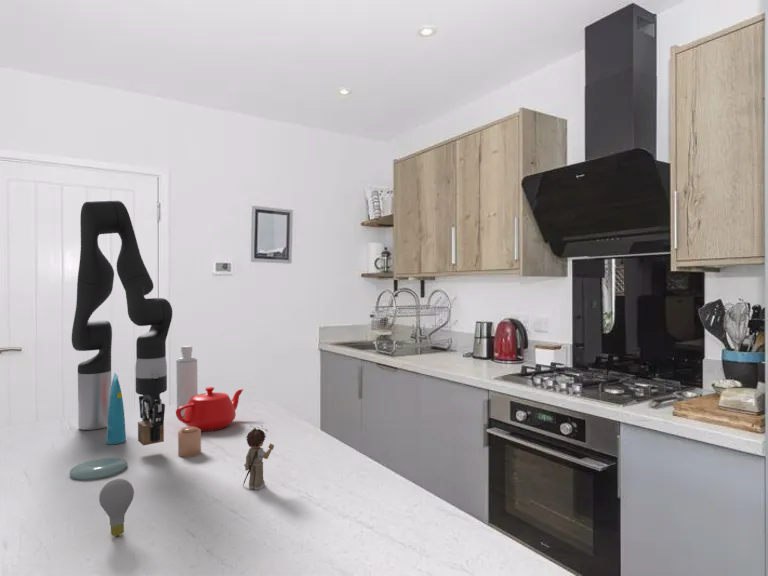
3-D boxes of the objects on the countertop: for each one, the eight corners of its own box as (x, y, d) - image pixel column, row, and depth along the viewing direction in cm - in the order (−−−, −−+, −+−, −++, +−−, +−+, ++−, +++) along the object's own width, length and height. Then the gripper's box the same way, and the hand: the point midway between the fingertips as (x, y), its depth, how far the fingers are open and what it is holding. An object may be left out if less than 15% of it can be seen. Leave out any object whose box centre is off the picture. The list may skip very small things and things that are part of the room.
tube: (128, 443, 144) (128, 375, 144) (109, 446, 141) (108, 377, 141) (122, 437, 150) (121, 371, 150) (103, 440, 147) (103, 373, 147)
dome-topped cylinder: (175, 453, 136) (174, 428, 136) (196, 448, 139) (196, 424, 139) (182, 458, 131) (182, 433, 131) (204, 453, 135) (204, 428, 135)
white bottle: (172, 416, 173) (172, 342, 173) (183, 411, 179) (183, 340, 179) (191, 417, 172) (190, 342, 171) (201, 412, 178) (200, 340, 178)
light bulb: (108, 529, 94) (107, 474, 94) (139, 527, 94) (138, 473, 94) (93, 544, 88) (93, 486, 88) (126, 542, 89) (126, 485, 89)
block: (138, 440, 135) (137, 421, 135) (157, 436, 139) (157, 418, 138) (143, 445, 132) (143, 426, 131) (163, 441, 135) (163, 422, 135)
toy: (275, 483, 115) (275, 417, 114) (262, 492, 109) (261, 423, 109) (251, 480, 117) (251, 414, 117) (237, 489, 111) (236, 421, 111)
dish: (65, 469, 124) (65, 465, 124) (120, 458, 132) (119, 454, 132) (75, 484, 115) (75, 480, 115) (133, 471, 123) (133, 467, 123)
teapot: (192, 440, 147) (192, 397, 147) (161, 431, 156) (161, 391, 156) (259, 420, 168) (259, 383, 168) (228, 413, 177) (228, 378, 176)
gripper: (128, 372, 138) (128, 434, 138) (144, 380, 127) (145, 448, 127) (157, 368, 143) (157, 429, 143) (175, 376, 132) (175, 442, 132)
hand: (151, 438), depth 135 cm, fingers closed on block, 5 cm apart
